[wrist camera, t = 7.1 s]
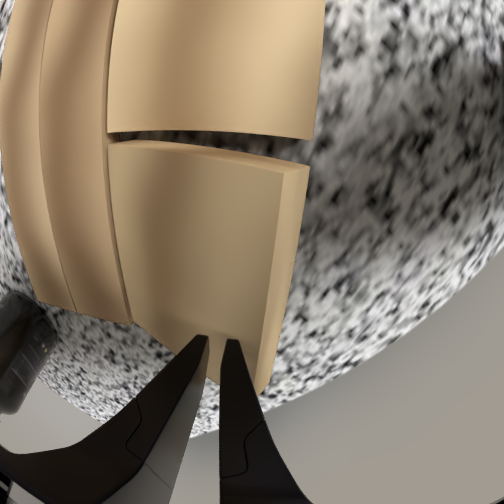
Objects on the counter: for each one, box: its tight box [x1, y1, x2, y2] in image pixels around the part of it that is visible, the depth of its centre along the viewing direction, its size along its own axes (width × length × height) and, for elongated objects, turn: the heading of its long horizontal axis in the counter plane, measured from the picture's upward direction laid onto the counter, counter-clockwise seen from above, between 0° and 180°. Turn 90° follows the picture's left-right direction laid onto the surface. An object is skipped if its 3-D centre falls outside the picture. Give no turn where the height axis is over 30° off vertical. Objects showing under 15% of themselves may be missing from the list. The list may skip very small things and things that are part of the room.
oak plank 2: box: [108, 139, 310, 397], centre depth 11 cm, size 8×10×2 cm
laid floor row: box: [0, 0, 133, 326], centre depth 10 cm, size 8×20×2 cm, turn 175°
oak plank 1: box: [107, 0, 325, 141], centre depth 7 cm, size 8×10×2 cm
